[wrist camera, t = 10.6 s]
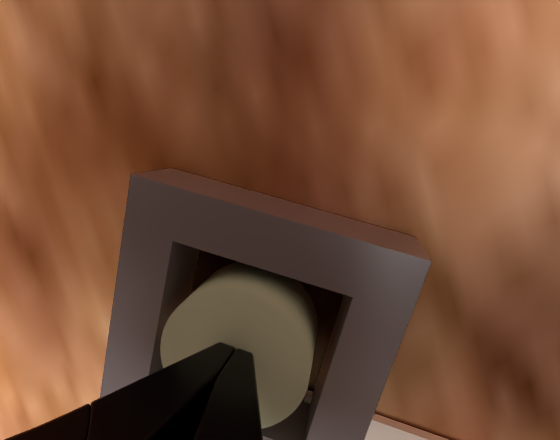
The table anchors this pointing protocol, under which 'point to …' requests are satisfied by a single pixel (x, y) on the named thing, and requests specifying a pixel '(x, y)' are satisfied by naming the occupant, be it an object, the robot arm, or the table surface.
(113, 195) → the table surface
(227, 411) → the robot arm
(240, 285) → the button
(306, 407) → the button housing
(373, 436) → the sheet
